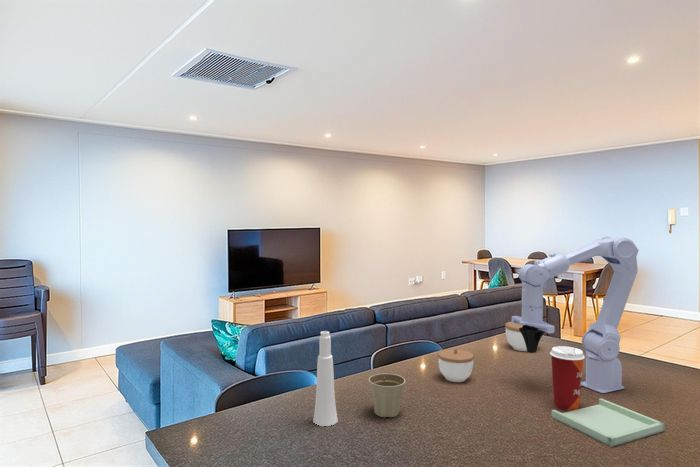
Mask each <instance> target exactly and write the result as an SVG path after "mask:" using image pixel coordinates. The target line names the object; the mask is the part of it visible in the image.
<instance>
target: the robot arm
mask: <svg viewBox="0 0 700 467" xmlns="http://www.w3.org/2000/svg"><path fill="white" fill-rule="evenodd" d="M638 253H639V248H638V247H637V245H636V244H635V242H634V241H633V240H632V239H630V238H628V237H627V238H626V237H611V236H603V237H601V238H598V239H594V240H593V241H591V242H589V243H586V244H585V245H583V246H581V247H578V248H576V249H574V250H572V251H570V252H568V253H566V254H562V253H555V252H552V253H550V254H549V255H548V257H546V258H543V259H541V260H538V259H537V260H534V263H533V264H532V263H527V264H525V265H523V266H522V268H520V271H519V273H518V274H517V275H518V278H519V280H520V281H521V316H519V315H512V316H511V322H512V323H517V324H521V325H523V326H522V327H521V328H519V331H520V332H521V334H522V336H523V338H524V341H525V344H526V348H527V351H526V352H527V353H529V354H536V353H537V351H538V350H537V349H538V345H539V343H540V340H541V338H542V337H543V335H544V334H545V333H546V334H554V333H555V325H552V324H549V323H548V322H546V321H543V320H544V316H543V315H544V314H543V312H544V307H543V306H544V301H543V300H544V284H545V283H546V282H547V280H550V279H552V278H554V277H556V276H559V275H562V274H564V273H566V272H568V271H569V269H570V266H571V265H574V264H575V265H576V264H578V263H581V262H582V261H587V260H590V259H591V258H594V257H601V258H603V259H604V261H606V262H607V263H608V264H609V266H610V267H611V268H612V270H613V274H612V277H611V280H610V283H609V286H608V289H607V291H606V294H605V297H604V299H603V303H602V305H601V308H600V310H599V314H598V316H597V318H596V321H595V322H593V323H591V324H590V325H589V327H588V329H587V331H586V332H585V333H584V334H583V335H582V338H581V344H582V347H583V348H584V349H585V381H582V382H581V387H585V388H587V389H590V390H592V391H595V392H597V393H600V394H607V393H611V392H615V391H619V390H620V391H621V390H624V389H625V386H623V384H622V383H623V382H622V381H623V378H622V377H623V373H622V372H623V367H622V362H621V360H620V359H619V358H618V356H619V354H620V350H621V349H620V348H621V347H620V341H621V339H622V338H621V335H620V333H619V330H618V327H619V324H620V322H621V318H622V316H623V313H624V310H625V308H626V305H627V302H628V300H629V296H630V294H631V291H632V288H633V285H634V283H635V279H636V277H637V274H638V271H639V270H638V269H639V268H638V260H637V256H638Z"/></svg>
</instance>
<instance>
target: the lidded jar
mask: <svg viewBox="0 0 700 467" xmlns="http://www.w3.org/2000/svg"><path fill="white" fill-rule="evenodd" d="M437 357H438V359H437V360H438V368H439V371H440V374H442V376H443V377H444V378H445V380H446V381H448V382H452V383H462V382H465V381H466V380H467V379H469V377H470V376H471V374H472V371H473V368H474V359H475V358H474V354H473V353H472V352H470V351H467V350H463V349H458V348H451V349H450V348H448V349H442V350H439V351H438V353H437Z"/></svg>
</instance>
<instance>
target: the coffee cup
mask: <svg viewBox="0 0 700 467" xmlns="http://www.w3.org/2000/svg"><path fill="white" fill-rule="evenodd" d="M549 355H550V356H551V374H552V393H553V394H552V396H553V405H554V406H555V407H556V408H557V409H559V410H562V411H565V412H569V411H574V410H578V409H580V404H581V395H582V394H581V392H582V385H581V382H583V380H582V379H583V369H584V368H583V366H584V359H586V355H584V352H583V350H582V349H580V348H576V347H572V346H565V345H563V346H562V345H559V346H553V347H552V348H551V351H549Z"/></svg>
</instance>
